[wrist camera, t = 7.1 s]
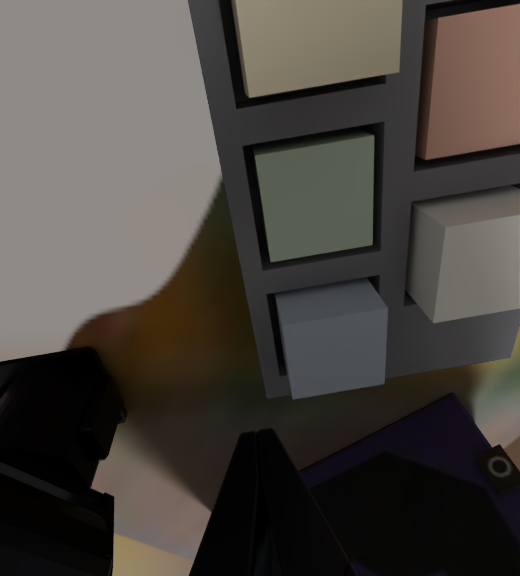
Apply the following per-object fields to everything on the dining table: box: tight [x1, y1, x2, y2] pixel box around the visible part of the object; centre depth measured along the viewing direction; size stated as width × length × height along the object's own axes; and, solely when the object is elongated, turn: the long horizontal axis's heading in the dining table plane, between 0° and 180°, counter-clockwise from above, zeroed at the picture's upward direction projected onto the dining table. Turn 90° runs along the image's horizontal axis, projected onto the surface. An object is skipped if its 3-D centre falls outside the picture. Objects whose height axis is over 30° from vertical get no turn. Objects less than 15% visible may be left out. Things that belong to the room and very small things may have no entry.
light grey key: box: [405, 185, 520, 323], centre depth 16 cm, size 4×4×3 cm
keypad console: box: [188, 0, 520, 399], centre depth 16 cm, size 19×21×4 cm
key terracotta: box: [415, 4, 520, 160], centre depth 14 cm, size 4×4×3 cm
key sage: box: [250, 127, 374, 262], centre depth 16 cm, size 4×4×3 cm
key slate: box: [274, 277, 388, 400], centre depth 17 cm, size 4×4×3 cm
